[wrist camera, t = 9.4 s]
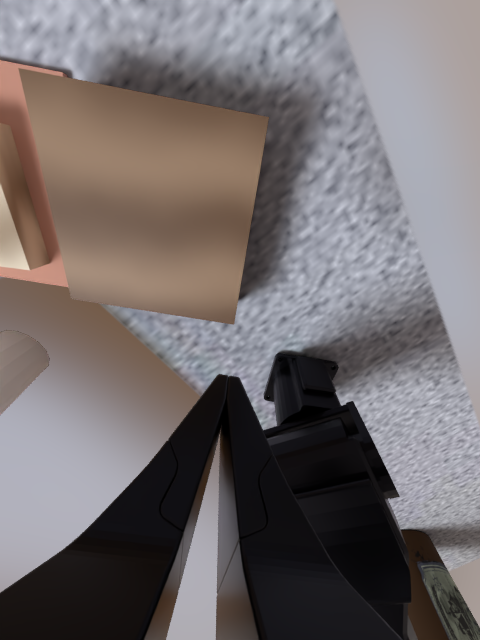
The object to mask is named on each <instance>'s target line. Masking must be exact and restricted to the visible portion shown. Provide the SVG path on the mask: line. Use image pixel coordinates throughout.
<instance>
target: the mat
mask: <svg viewBox="0 0 480 640" xmlns="http://www.w3.org/2000/svg"><path fill="white" fill-rule="evenodd" d="M18 68H21V69H26V70H32V71H37V72H42V73H47V74H52V75H57V76H62V77H67V75H66V74H64V73H62V72H58V71H52V70H47V69H42V68H37V67H32V66H27V65H22V64H17V63H12V62H7V61H2V60H0V123H2V124H6V125H9V126H10V127H11V131H12V134H13V138H14V141H15V144H16V148H17V151H18V155H19V158H20V162H21V165H22V168H23V172H24V175H25V179H26V182H27V185H28V189H29V192H30V196H31V199H32V203H33V206H34V209H35V213H36V216H37V220H38V223H39V227H40V230H41V233H42V237H43V240H44V244H45V247H46V250H47V254H48V257H49V261H50V264H47V265H44V266H41V267H38V268H35V269H33V270H23V269H16V268H8V267H0V276H2V277H8V278H15V279H21V280H27V281H34V282H39V283H46V284H52V285H58V286H64V287H68V282H67V278H66V274H65V269H64V265H63V261H62V256H61V252H60V248H59V243H58V239H57V234H56V230H55V226H54V221H53V217H52V213H51V208H50V204H49V200H48V195H47V191H46V187H45V182H44V178H43V174H42V169H41V165H40V161H39V156H38V152H37V147H36V143H35V139H34V134H33V130H32V126H31V121H30V117H29V113H28V108H27V104H26V100H25V95H24V91H23V87H22V82H21V78H20V74H19V69H18ZM67 78H68V77H67Z"/></svg>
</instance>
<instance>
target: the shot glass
mask: <svg viewBox="0 0 480 640" xmlns="http://www.w3.org/2000/svg"><path fill="white" fill-rule="evenodd" d="M48 366H49V356H48V354H47V351H46V350H45V349H44V348H43V346H42V345H41V344H40V343H39V342H38V341H36V340H34V339H33V338H32V337H30V336H28V335H26V334H23V333H21V332H18V331H9V330H6V331H3V332H0V415H1V414H2V413H3V412H4V411H5V410H6V409H7V408H8V407H9V406H10V405H11V404H12V403H13V402H14V401H15V400H16V398H18V397H19V395H20V394H21V393H22V392H23V391H24V390H25V389H26V388H27V387H28V386H29V385H30V384H31V383H32V382H33V381H34V380H35V379H36V378H37V377H38V376H39V375H40V374H41V373H42V372H43V371H44V370H45V369H46V367H48Z"/></svg>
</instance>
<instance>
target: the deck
mask: <svg viewBox="0 0 480 640" xmlns="http://www.w3.org/2000/svg"><path fill="white" fill-rule="evenodd" d="M18 69H19V74H20V78H21V82H22V87H23V91H24V95H25V100H26V104H27V108H28V113H29V117H30V121H31V126H32V130H33V134H34V139H35V143H36V147H37V152H38V156H39V161H40V165H41V169H42V174H43V178H44V182H45V187H46V191H47V195H48V200H49V204H50V208H51V213H52V217H53V221H54V226H55V230H56V234H57V239H58V243H59V248H60V252H61V256H62V261H63V265H64V269H65V274H66V278H67V282H68V287H69V291H70V295H71V299H76V300H82V301H88V302H95V303H101V304H107V305H114V306H120V307H126V308H133V309H139V310H145V311H152V312H158V313H164V314H171V315H177V316H183V317H190V318H196V319H202V320H209V321H215V322H221V323H227V324H234V321H235V315H236V309H237V303H238V297H239V292H240V286H241V280H242V274H243V268H244V262H245V256H246V250H247V244H248V238H249V232H250V226H251V221H252V215H253V209H254V203H255V197H256V191H257V185H258V179H259V173H260V167H261V161H262V155H263V150H264V144H265V138H266V132H267V126H268V120H269V117H265V116H260V115H255V114H250V113H245V112H240V111H235V110H230V109H225V108H220V107H214V106H209V105H204V104H199V103H194V102H189V101H184V100H179V99H174V98H169V97H164V96H159V95H153V94H148V93H143V92H138V91H133V90H128V89H123V88H118V87H113V86H108V85H103V84H98V83H92V82H87V81H82V80H77V79H72V78H67V77H62V76H57V75H52V74H47V73H42V72H37V71H32V70H26V69H21V68H18Z"/></svg>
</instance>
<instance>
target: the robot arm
mask: <svg viewBox="0 0 480 640" xmlns="http://www.w3.org/2000/svg"><path fill="white" fill-rule="evenodd" d="M279 358H282V359H279ZM332 366H334V367H332ZM338 368H339V367H338V365H337V363H336V362H333V361H326V360H321V359H315V358H309V357H302V356H294V355H287V354H277V355H276V356H275V359H274V362H273V365H272V369H271V372H270V375H269V379H268V382H267V385H266V389H265V392H264V399H265V400H267V401H272V402H274V404H275V413H276V421H277V426H276V427H272V428H269V429H266V430H263V429H262V427H261V425H260V423H259V420H258V418H257V416H256V414H255V411H254V409H253V407H252V405H251V402H250V400H249V398H248V396H247V394H246V391H245V389H244V387H243V385H242V382H241V380H240V378H239V377H235V376H229V378H228V375H222V374H219V375H217V377H216V378H215V379H214V380H213V382H212V383H211V384H210V386H209V387H208V388H207V390H206V391H205V392H204V393H203V395H202V396H201V397H200V399H199V400H198V401H197V403H196V404H195V405H194V406H193V408H192V409H191V410H190V412H189V413H188V414H187V416H186V417H185V418H184V419H183V421H182V422H181V423H180V425H179V426H178V427H177V429H176V430H175V431H174V432H173V434H172V435H171V436H170V438H169V440H168V441H166V443H165V444H164V445H163V446H162V448H161V449H160V451H159V452H158V453H157V454H156V455H155V456H154V458H153V459H152V460H151V461H150V463H149V464H148V465H147V466H146V467H145V468H144V469H143V471H142V472H141V473H140V474H139V475H138V476H137V477H136V478H135V479H134V480H133V481H132V483H130V485H129V486H128V487H127V488H126V489H125V490H124V491H123V492H122V493H121V494H120V495H119V496H118V497H117V498H116V499H115V500H114V501H113V502H112V503H111V504H110V505H109V506H108V508H107V509H106V510H105V511H104V512H103V513H102V514H101V515H100V516H99V517H98V518H97V519H96V520H95V521H94V522H93V523H92V524H91V525H90V526H89V527H88V528H87V529H86V530H85V531H84V532H83V533H82V534H81V535H80V536H79V537H78V538H76V539H75V540H74V541H73V542H72V543H71V544H69V545H68V546H67V547H66V548H64V549H63V550H62V551H60V552H59V553H57V554H56V555H55V556H53V557H52V558H50V559H49V560H47V561H46V562H44V563H43V564H41V565H40V566H39V567H37V568H36V569H34V570H33V571H31V572H30V573H28V574H27V575H25V576H24V577H22V578H21V579H20V580H18V581H17V582H15V583H14V584H12V585H11V586H9V587H8V588H6V589H5V590H4V591H2V592H1V593H0V640H166V637H167V633H168V629H169V626H170V622H171V618H172V614H173V610H174V606H175V603H176V599H177V595H178V590H179V587H180V584H181V579H182V576H183V572H184V568H185V565H186V561H187V557H188V553H189V549H190V545H191V542H192V538H193V534H194V530H195V526H196V522H197V519H198V515H199V511H200V507H201V504H202V500H203V495H204V492H205V488H206V484H207V481H208V477H209V473H210V469H211V465H212V462H213V458H214V454H215V450H216V446H217V442H218V438H219V434H220V466H219V515H218V516H219V517H218V564H217V594H218V595H217V609H216V640H418V639H417V636H416V634H415V631H414V629H413V626H412V624H411V621H410V619H409V617H408V603H411V576H410V570H409V552H408V549H407V547H406V544H405V541H404V538H403V536H402V533H401V530H400V527H399V525H398V522H397V519H396V517H395V514H394V512H393V510H392V508H391V506H390V503H389V501H388V498H390V499H391V498H396V497H400V496H399V494H398V492H397V490H396V488H395V486H394V484H393V482H392V479H391V477H390V475H389V473H388V471H387V469H386V467H385V465H384V463H383V461H382V459H381V457H380V455H379V453H378V451H377V449H376V446H375V444H374V442H373V440H372V438H371V436H370V434H369V432H368V430H367V428H366V426H365V424H364V422H363V420H362V418H361V416H360V414H359V412H358V410H357V408H356V406H355V404H354V402H353V401H351V402H348V403H346V405H343V406H341V404H340V402H339V400H338V397H337V395H336V393H335V392H336V389H335V387H334V384H333V382H332V381H333V378H334V376H335V374H336V372H337V370H338ZM268 396H269V397H268ZM220 429H221V432H220Z"/></svg>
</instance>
